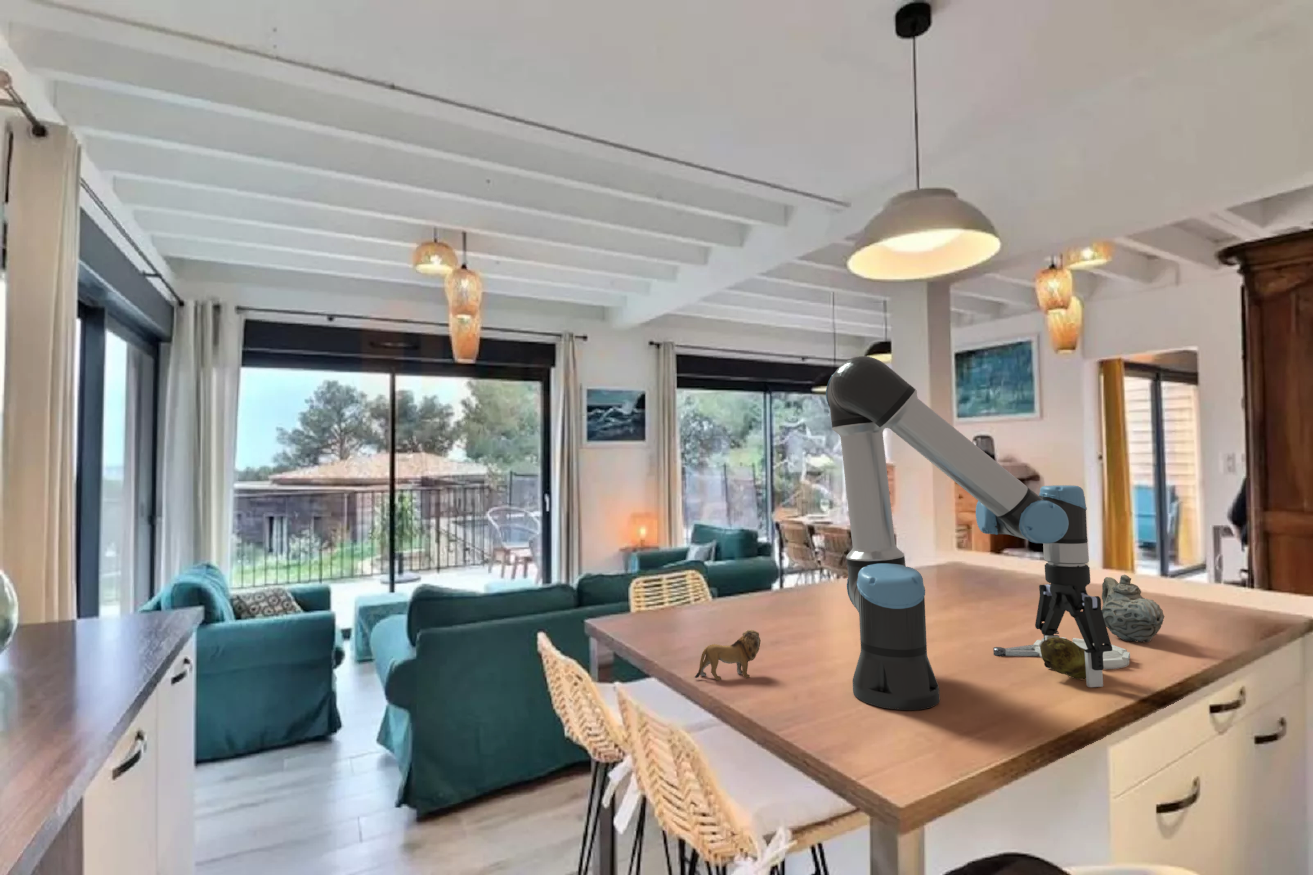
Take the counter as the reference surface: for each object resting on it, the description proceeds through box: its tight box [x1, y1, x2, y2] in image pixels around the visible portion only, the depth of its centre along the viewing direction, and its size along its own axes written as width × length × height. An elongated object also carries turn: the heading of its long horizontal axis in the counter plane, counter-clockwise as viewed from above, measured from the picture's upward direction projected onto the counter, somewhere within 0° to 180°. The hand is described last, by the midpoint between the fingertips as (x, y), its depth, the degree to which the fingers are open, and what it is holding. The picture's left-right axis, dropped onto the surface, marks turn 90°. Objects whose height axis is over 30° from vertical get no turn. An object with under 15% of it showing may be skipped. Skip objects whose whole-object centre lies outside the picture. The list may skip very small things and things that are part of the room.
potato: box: [1040, 637, 1086, 680], centre depth 124 cm, size 8×13×8 cm, turn 97°
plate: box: [1032, 636, 1131, 670], centre depth 137 cm, size 17×17×2 cm
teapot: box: [1101, 574, 1165, 643], centre depth 149 cm, size 21×12×15 cm, turn 171°
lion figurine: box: [694, 629, 761, 681], centre depth 131 cm, size 15×5×9 cm, turn 106°
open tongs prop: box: [992, 641, 1043, 657], centre depth 140 cm, size 16×9×1 cm, turn 94°
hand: (1073, 676), depth 124 cm, fingers open, 10 cm apart
